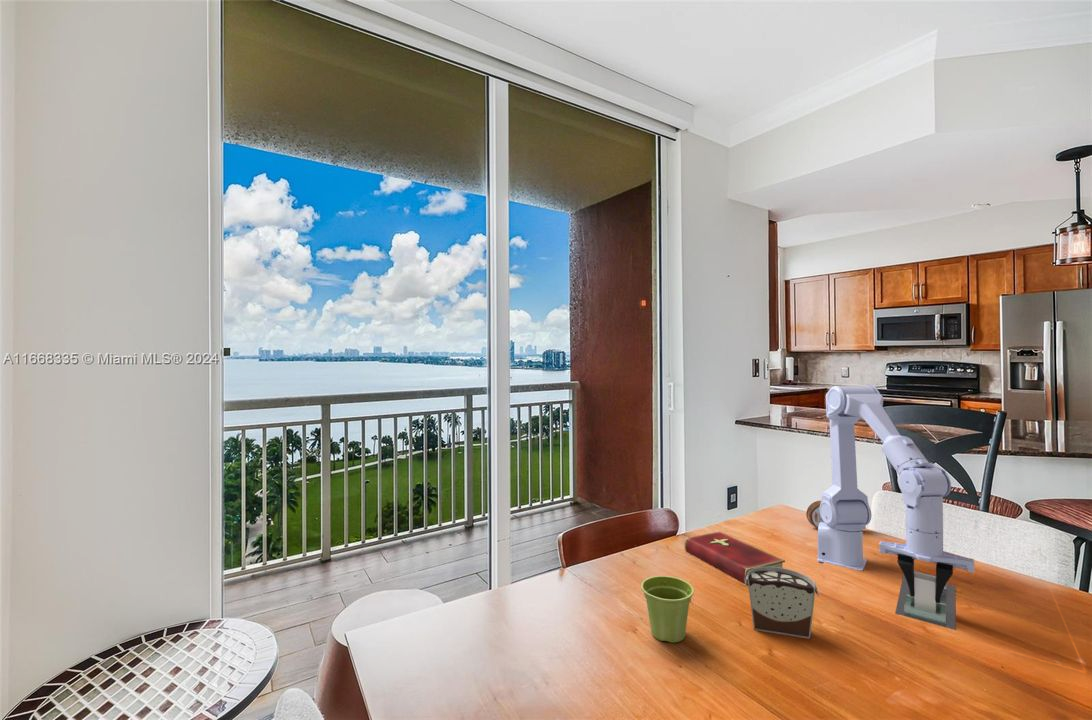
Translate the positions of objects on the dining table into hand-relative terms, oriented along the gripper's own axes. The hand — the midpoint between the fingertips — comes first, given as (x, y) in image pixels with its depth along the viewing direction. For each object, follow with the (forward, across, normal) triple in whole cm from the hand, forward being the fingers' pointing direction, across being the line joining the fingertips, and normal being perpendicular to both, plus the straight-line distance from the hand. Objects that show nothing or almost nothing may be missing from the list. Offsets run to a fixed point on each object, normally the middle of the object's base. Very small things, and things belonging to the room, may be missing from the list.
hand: (925, 597), depth 93 cm
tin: (+4, -22, +42) cm, 48 cm away
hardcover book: (+4, -38, +1) cm, 38 cm away
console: (+3, 0, +7) cm, 8 cm away
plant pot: (+3, -36, -38) cm, 52 cm away
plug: (+2, 0, 0) cm, 2 cm away
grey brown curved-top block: (+3, -21, -22) cm, 31 cm away
